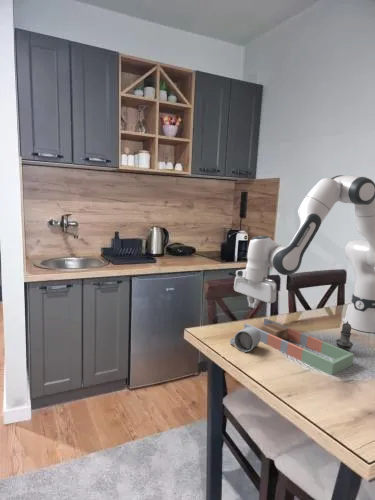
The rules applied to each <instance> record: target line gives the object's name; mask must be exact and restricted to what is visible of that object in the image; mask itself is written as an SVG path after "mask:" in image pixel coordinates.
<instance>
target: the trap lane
mask: <svg viewBox="0 0 375 500" xmlns="http://www.w3.org/2000/svg"><path fill="white" fill-rule="evenodd" d="M272 323H276V324H278V325H280V326H282V327H285V328H287V329H288V335H287V340H291V341H293V342H295V343H298V344H300V345H301V346H305V347H306V348H309V349H312V350H314V351H316V352H318V353H321V354H322V355H324V356H327V357H330V358H332V360H330V359H327V358H325V357H323V356H321V355H319V354H316V353H314V352H312V351H309V350H307V349H305V348H303V347H300V346H298V345H296V344H294V343H291V342H289V341H285V340H283V339H281V338H278V337H276V336H274V335H272V334H269V333H267V332H265V331H262V329H260V328H258V327H255V326H253V325H251V324H249V323H244V326H243V329H245V328H247V327H253V328H255V329H257V330H258V331H259V333H260V336H261V339H260V342H261V343H263V344H265V345H267V346H270V347H271V348H274V349H276V350H277V351H280V352H282V353H285V355H288V356H291V357H292V358H295V359H296V360H299V361H301V362H303V363H306V364H307V365H309V366H312V367H314V369H317V370H319V371H322V372H324V373H326V374H328V375H330V376H333V375H335V374H337V373H339V372H341V371H343V370H346V368H349V367H351V366H353V364H354V363H353V362H354V357H355V354H354V353H353V352H351V351H350V352H348V351H346V350H343V349H341V348H338V347H337V345H336V346H335V345H334V344H330V343H329V342H325V341H323V340H321V339H318V338H315V337H313V336H311V335H309V334H306V333H304V332H300V331H299V330H295V329H293V328H291V327H288V326H286V325H284V324H281V323H280V322H279V323H278V322H276V321H273V320H271V319H268V318H264V319H263V326H264V325H268V324H272ZM333 359H334V360H333Z"/></svg>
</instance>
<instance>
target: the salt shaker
mask: <svg viewBox="0 0 375 500" xmlns="http://www.w3.org/2000/svg"><path fill="white" fill-rule="evenodd" d="M351 332H352V328H351V325H350V324H349V322H348V321H347V323H345V322H344V323H343V324H342V328H341V331H340V338H339V339H336V340H335V343H336V347H338V348H341V349H343V350H346V351H348V352H351V351H350V350H351V349H352V348H353V346H354V343H353V342H351V340H350V339H351V336H352V333H351Z"/></svg>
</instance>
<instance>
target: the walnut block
mask: <svg viewBox="0 0 375 500" xmlns="http://www.w3.org/2000/svg"><path fill="white" fill-rule="evenodd" d="M276 323H277V322H276ZM276 323H272V324H268V325H264V324H263V325H262V326H261V330H262V331H265V332H267V333H269V334H272V335H274V336H276V337H278V338H281V339H283V340H285V341H287V340H288V338H287V335H288V329H287V328H285V327H282V326H280V325H278V324H276ZM287 342H288V341H287Z"/></svg>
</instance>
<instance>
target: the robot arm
mask: <svg viewBox="0 0 375 500" xmlns="http://www.w3.org/2000/svg"><path fill="white" fill-rule="evenodd" d="M301 201H302V202H301V203H300V205H299V207H298V209H297V215H298V218H299V222H300V224H299V228H298V229H297V232H295V235H294V236H293V238H292V239H291V241H290V243H289V244H288V245H287V246H285V245H283V244H281V243H278V242H276V241H275V240H273V239H272V238H270V236H267V235H256V236H253V237H252V238H251V239H249V244H248V247H247V255H246V258H247V262H246V266H245V268H244V269H238V270H236V271H235V275H236V276H235V277H234V282H233V284H234V285H233V290H234V291H235V292H237V293H239V294H242V295H245V296H247V297H246V299H247V303H248V307H249V308H253V309H257V307H258V304H259V302H260V301H262V302H265V303H267V304H273V303H275V302H276V301H277V283H276V282H275V280H274V279H270V278H268V271H269V268H274V269H275V270H276V271H277V273H278V274H280V275H283V276H292V275H294V274H295V273H296V272H298V271H299V269H300V267H301V264H302V260H303V257H304V255H305V253H306V251H307V249H308V248H309V246H310V244H311V243H312V242H313V239H314V238H315V236H316V234H317V233H318V231H319V229H320V227H321V225H322V224H323V222H324V220H325V219H326V217H327V216H328V214H329V213H330V212H331V210H332V208H333V207H334V206H335V204H336V203H338V202H341V203H343V204H351V205H353V206H354V214H355V224H356V230H357V233H358V234H359V235H360V236H361V237H363V238H364V239H353V240H350V241H348V243H347V244H346V245H345V248H344V254H345V258H346V259H347V260H348V261H349V262H350V264H351V266H352V269H353V273H354V289H353V293H352V295H351V303H349V304H348V305H347V309H346V312H345V316H344V317H342V318H341V320H342V322H344V323H347V321H348V322H349V324H350V325H351V329H353V330H357V331H360V332H365V333H373V334H374V333H375V182H374V181H373V180H372V179H371V178H369V177H365V176H359V175H342V174H341V175H336V176H333V177H331V178H330V177H324V178H321V179H320V180H319V181H318V182H317V183H316V184H315V185H314V186H313V187H312V188H311V189H310V190H309V192H308V193H306V195H305V197H304V198H303V200H301ZM253 300H254V301H253Z"/></svg>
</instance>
